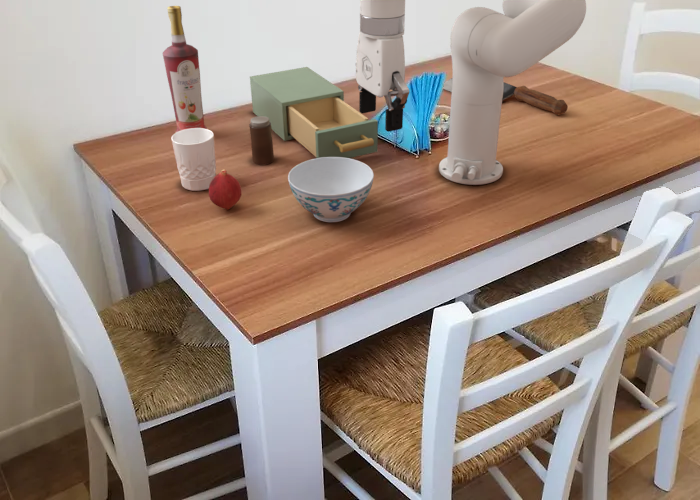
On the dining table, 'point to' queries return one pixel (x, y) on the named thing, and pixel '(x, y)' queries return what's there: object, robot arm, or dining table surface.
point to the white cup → (195, 157)
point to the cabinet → (288, 94)
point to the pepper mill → (261, 140)
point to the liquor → (183, 76)
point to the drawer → (332, 128)
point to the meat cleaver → (528, 97)
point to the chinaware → (331, 186)
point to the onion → (224, 190)
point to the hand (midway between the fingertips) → (380, 120)
